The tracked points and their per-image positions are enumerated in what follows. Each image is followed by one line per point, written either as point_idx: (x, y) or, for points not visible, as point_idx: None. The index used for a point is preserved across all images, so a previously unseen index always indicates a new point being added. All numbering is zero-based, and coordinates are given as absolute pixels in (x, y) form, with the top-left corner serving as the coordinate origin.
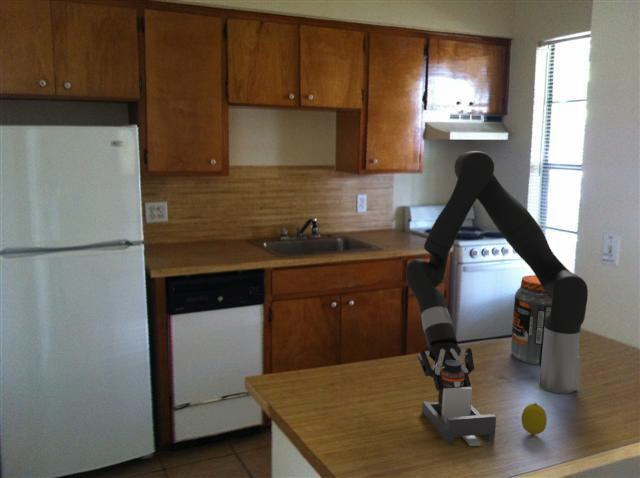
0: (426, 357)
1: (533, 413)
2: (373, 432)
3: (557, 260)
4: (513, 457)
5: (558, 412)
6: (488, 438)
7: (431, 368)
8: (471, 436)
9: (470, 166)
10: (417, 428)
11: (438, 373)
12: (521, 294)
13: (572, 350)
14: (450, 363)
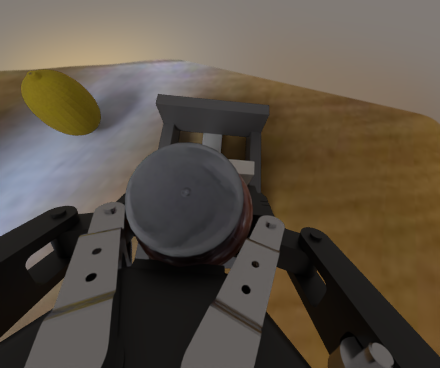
0: (380, 330)
1: (67, 76)
2: (374, 205)
3: None
4: (174, 88)
5: None
6: (179, 132)
7: (307, 243)
8: (209, 135)
9: None
10: (287, 200)
11: (265, 219)
12: None
13: None
14: (215, 178)
